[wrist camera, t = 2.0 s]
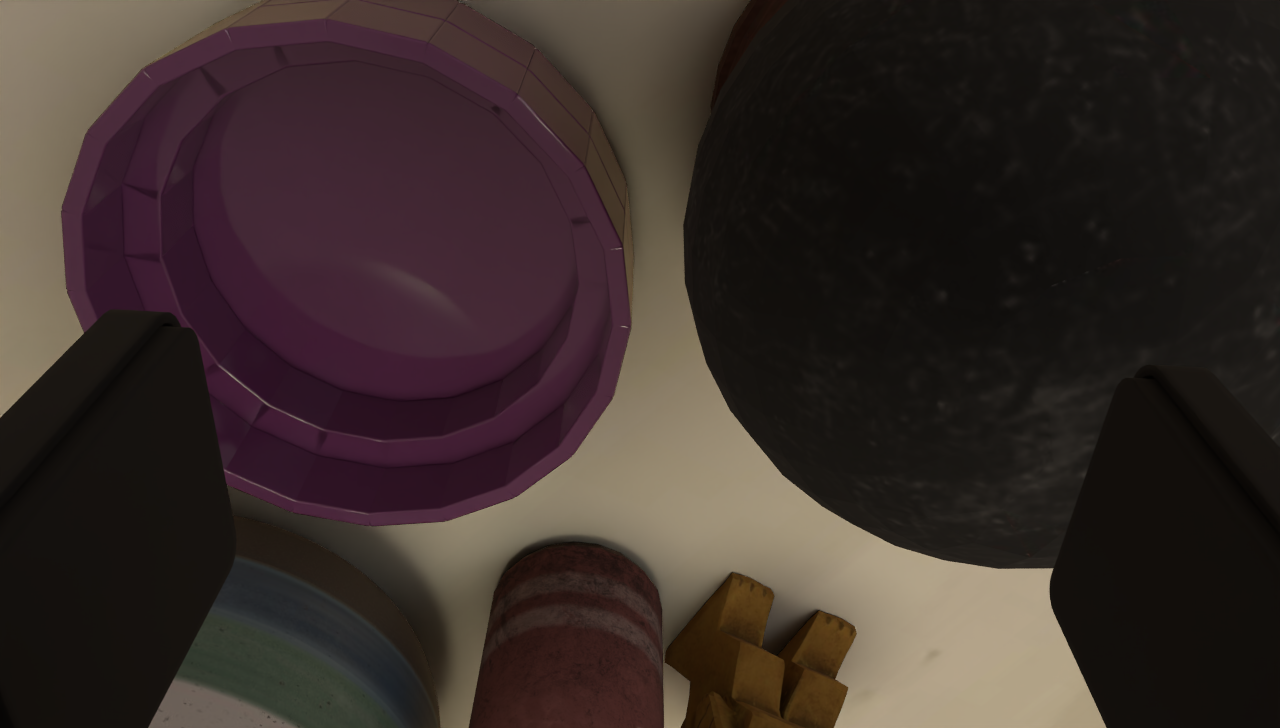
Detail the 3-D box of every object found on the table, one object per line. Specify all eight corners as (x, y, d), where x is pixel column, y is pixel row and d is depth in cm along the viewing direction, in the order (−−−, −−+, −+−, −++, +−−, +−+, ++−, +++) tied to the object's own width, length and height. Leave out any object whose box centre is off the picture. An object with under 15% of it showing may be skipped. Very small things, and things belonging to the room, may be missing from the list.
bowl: (152, 381, 33) (77, 475, 28) (143, -80, 26) (42, -47, 21) (581, 462, 34) (571, 563, 30) (683, 47, 27) (688, 102, 23)
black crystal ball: (702, 350, 32) (738, 752, 19) (642, -106, 25) (635, 39, 12) (1135, 298, 31) (1481, 686, 18) (1191, -192, 24) (1804, -130, 11)
